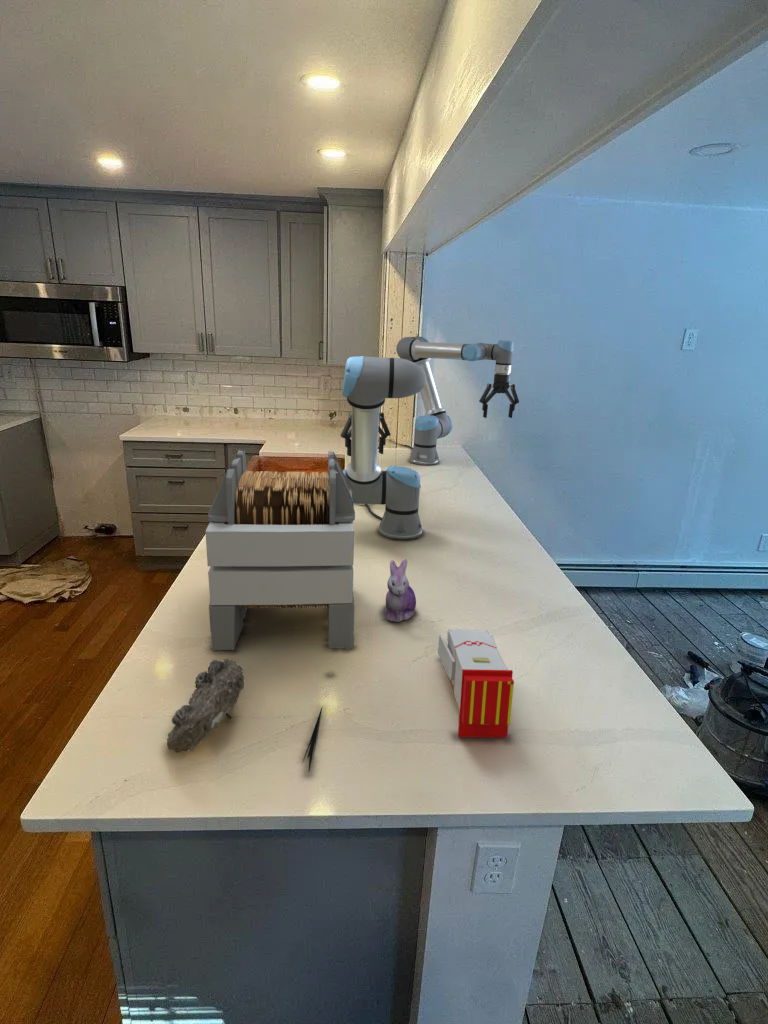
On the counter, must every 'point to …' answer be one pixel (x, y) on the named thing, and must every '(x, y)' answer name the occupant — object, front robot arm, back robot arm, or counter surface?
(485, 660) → the toy
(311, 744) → the feather
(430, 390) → the back robot arm
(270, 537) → the record crate
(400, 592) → the figurine
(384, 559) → the counter surface
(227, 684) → the fossil
